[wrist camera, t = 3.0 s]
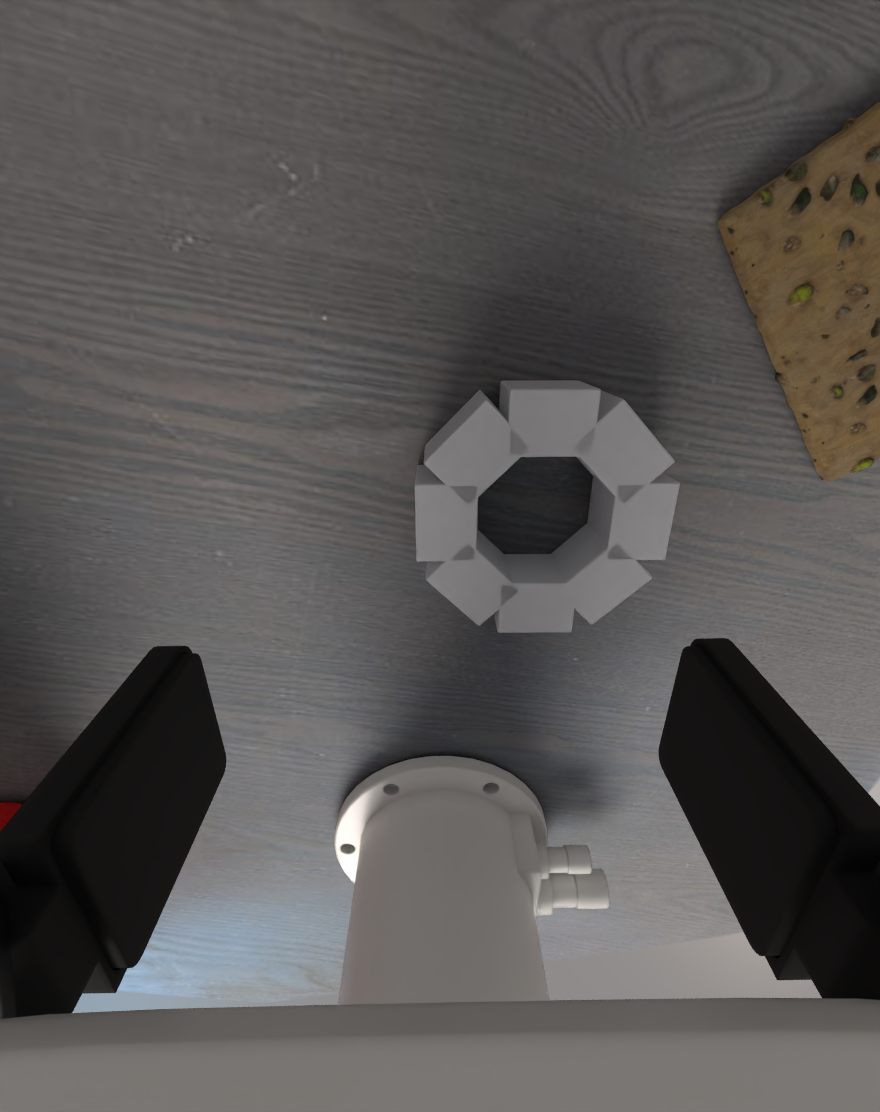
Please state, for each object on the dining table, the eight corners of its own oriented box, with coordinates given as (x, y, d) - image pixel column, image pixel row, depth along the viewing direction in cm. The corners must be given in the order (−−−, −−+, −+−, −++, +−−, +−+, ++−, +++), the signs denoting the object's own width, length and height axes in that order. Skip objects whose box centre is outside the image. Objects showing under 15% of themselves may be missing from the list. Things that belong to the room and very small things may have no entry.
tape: (664, 379, 21) (699, 388, 18) (627, 598, 25) (651, 632, 22) (414, 380, 20) (411, 389, 18) (419, 599, 25) (417, 634, 22)
